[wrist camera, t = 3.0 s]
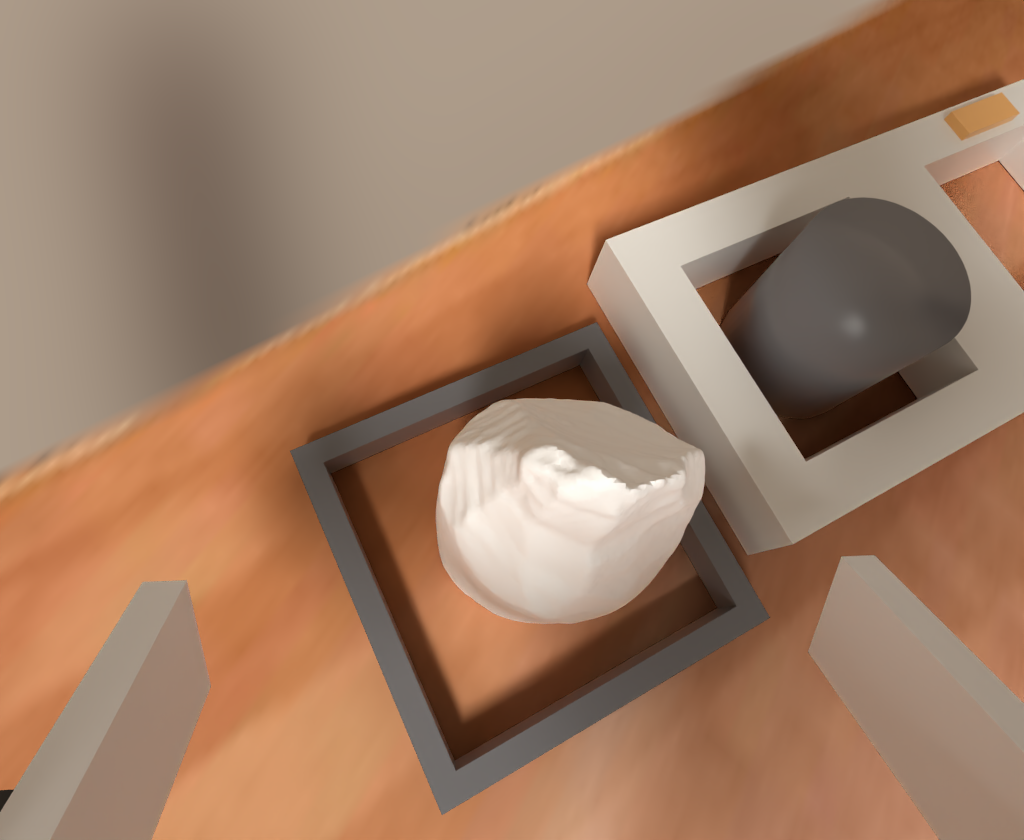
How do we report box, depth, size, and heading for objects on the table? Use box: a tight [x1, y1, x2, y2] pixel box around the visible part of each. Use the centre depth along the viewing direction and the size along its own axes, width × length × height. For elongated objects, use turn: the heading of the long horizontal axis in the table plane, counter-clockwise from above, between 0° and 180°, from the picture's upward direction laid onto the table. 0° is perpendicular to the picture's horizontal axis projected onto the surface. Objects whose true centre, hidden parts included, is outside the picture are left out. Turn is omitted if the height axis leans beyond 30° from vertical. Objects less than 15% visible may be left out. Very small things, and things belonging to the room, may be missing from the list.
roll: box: [436, 398, 705, 624], centre depth 16 cm, size 6×12×6 cm
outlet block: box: [587, 79, 1024, 555], centre depth 24 cm, size 12×24×6 cm, turn 117°
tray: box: [290, 322, 770, 815], centre depth 21 cm, size 12×12×2 cm
